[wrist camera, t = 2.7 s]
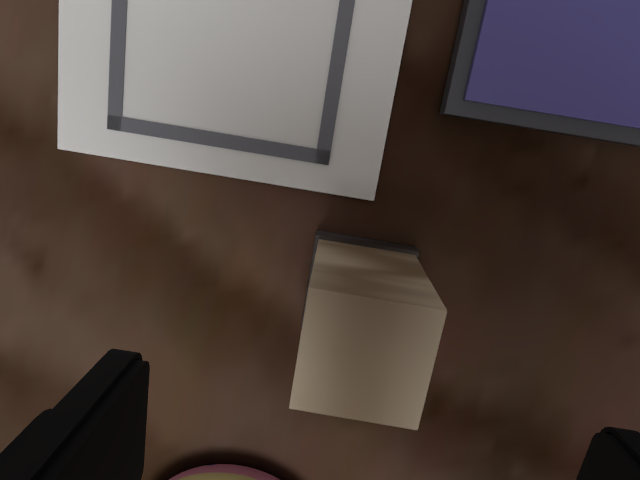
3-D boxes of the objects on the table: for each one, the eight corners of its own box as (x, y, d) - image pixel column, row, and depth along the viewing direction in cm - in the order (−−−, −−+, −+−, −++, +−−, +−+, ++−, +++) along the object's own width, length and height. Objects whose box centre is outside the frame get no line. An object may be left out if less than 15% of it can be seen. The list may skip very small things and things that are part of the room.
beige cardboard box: (415, 246, 20) (453, 307, 13) (395, 336, 21) (421, 435, 14) (317, 230, 20) (304, 281, 13) (302, 320, 21) (283, 411, 14)
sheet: (434, -116, 17) (435, -120, 16) (373, 200, 20) (374, 201, 19) (63, -175, 17) (59, -180, 16) (60, 148, 20) (56, 148, 19)
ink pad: (754, -64, 16) (788, -80, 15) (676, 153, 18) (701, 154, 17) (487, -107, 16) (499, -127, 15) (439, 114, 18) (446, 112, 17)
